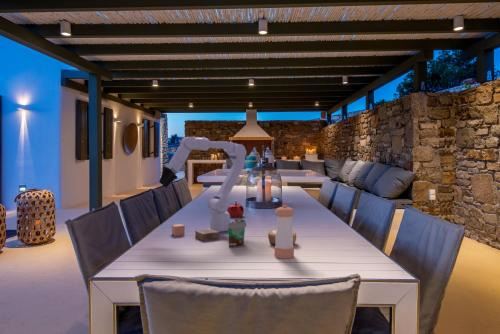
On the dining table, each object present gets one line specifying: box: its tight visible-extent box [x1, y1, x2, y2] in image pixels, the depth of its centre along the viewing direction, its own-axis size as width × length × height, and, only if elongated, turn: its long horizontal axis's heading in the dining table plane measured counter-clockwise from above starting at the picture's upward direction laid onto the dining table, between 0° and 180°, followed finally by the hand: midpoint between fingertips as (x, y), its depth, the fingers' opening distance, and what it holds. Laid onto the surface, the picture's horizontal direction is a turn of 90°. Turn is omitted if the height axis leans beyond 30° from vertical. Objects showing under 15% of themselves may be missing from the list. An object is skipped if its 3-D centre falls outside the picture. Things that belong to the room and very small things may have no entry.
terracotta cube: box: [171, 223, 186, 237], centre depth 179 cm, size 4×4×4 cm
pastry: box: [267, 229, 297, 247], centre depth 163 cm, size 12×12×9 cm
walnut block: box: [194, 228, 220, 242], centre depth 172 cm, size 8×8×4 cm
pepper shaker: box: [273, 204, 295, 260], centre depth 144 cm, size 7×7×19 cm
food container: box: [228, 217, 247, 248], centre depth 161 cm, size 12×6×10 cm, turn 168°
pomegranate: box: [226, 200, 245, 218], centre depth 228 cm, size 10×10×9 cm
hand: (162, 185), depth 174 cm, fingers open, 7 cm apart
